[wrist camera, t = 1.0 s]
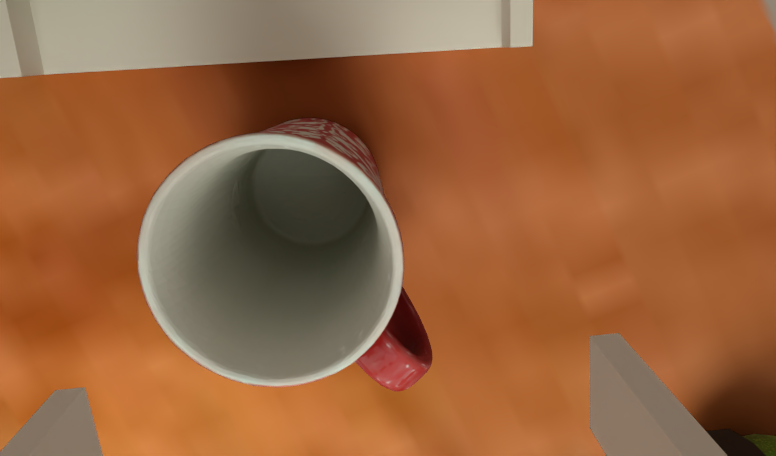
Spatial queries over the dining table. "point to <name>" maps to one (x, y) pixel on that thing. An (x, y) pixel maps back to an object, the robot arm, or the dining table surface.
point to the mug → (282, 261)
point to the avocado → (764, 443)
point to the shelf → (243, 31)
